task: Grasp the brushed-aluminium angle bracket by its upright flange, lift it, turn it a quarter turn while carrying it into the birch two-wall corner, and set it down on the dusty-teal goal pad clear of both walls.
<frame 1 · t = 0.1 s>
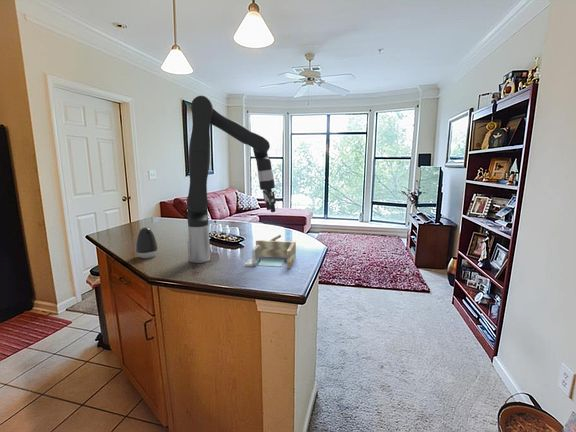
hand: (271, 210, 148), 22 cm above the table, tool pointing down, fingers open, 8 cm apart
bracket: (255, 263, 135), on the table
goal pad: (271, 263, 136), on the table
wall: (267, 250, 157), on the table
arena: (272, 261, 138), on the table
dark gray tapered dome: (147, 257, 146), on the table
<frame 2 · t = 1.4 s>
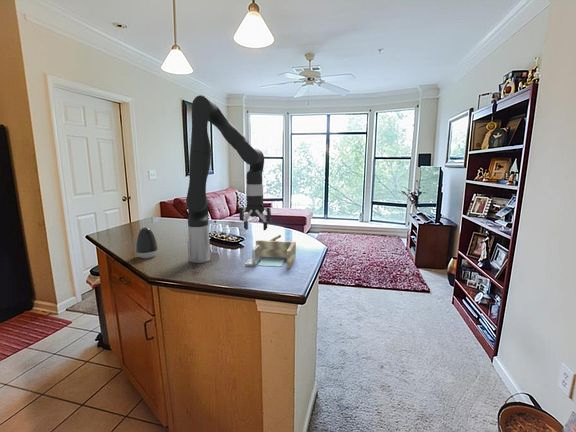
hand: (255, 229, 132), 16 cm above the table, tool pointing down, fingers open, 8 cm apart
nothing on the table moved.
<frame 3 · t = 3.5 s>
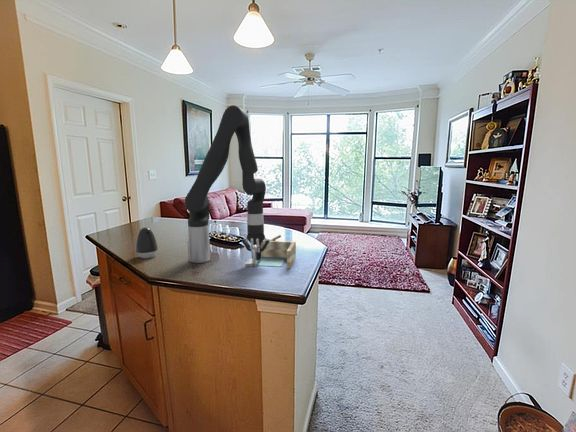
hand: (256, 259, 134), 2 cm above the table, tool pointing down, fingers closed on bracket
bracket: (255, 263, 135), on the table, touching gripper
everything else where it was.
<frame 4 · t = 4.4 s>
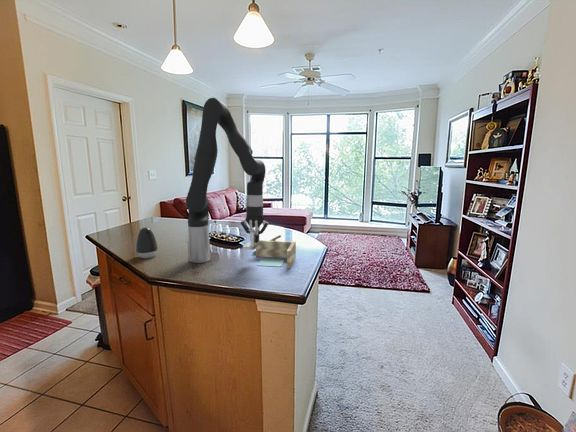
hand: (254, 242, 133), 10 cm above the table, tool pointing down, fingers closed on bracket
bracket: (254, 247, 133), point 8 cm above the table, touching gripper
everything else where it was.
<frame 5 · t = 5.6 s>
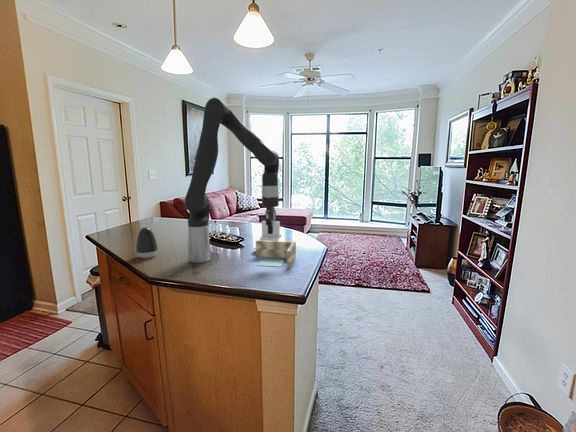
hand: (270, 233, 133), 14 cm above the table, tool pointing down, fingers closed on bracket
bracket: (270, 238, 133), point 12 cm above the table, touching gripper
everything else where it was.
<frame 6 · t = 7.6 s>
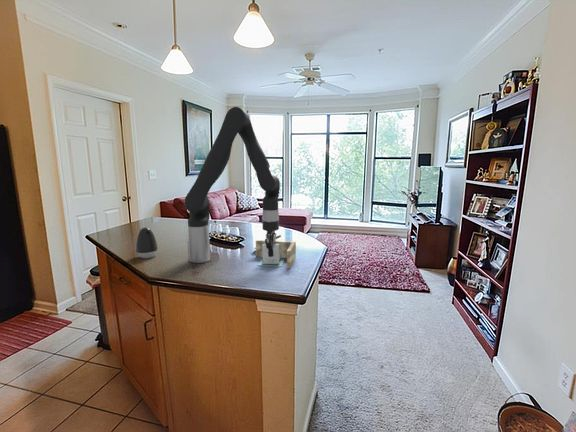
hand: (271, 255, 135), 4 cm above the table, tool pointing down, fingers closed on bracket
bracket: (271, 261, 135), point 1 cm above the table, touching gripper
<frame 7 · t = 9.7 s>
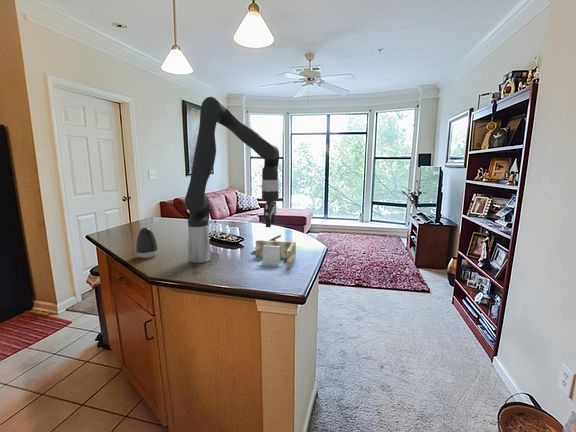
hand: (270, 225, 133), 18 cm above the table, tool pointing down, fingers open, 8 cm apart
bracket: (271, 262, 135), resting on goal pad
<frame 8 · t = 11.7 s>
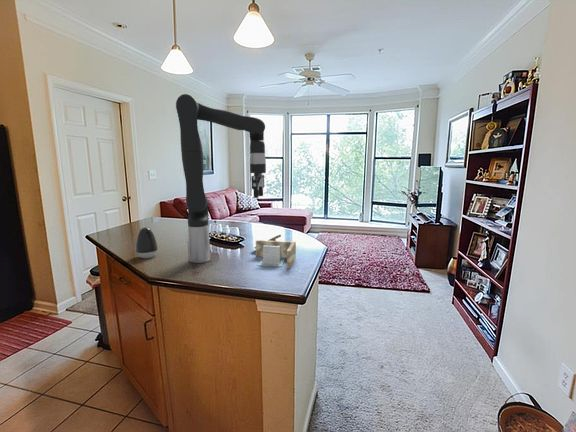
hand: (258, 197, 141), 30 cm above the table, tool pointing down, fingers open, 8 cm apart
at the end: bracket inside the target area on the goal pad (0.4 cm from its centre), point 0.2 cm above the goal pad's base; bracket tilted 0°; bracket touching goal pad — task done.
